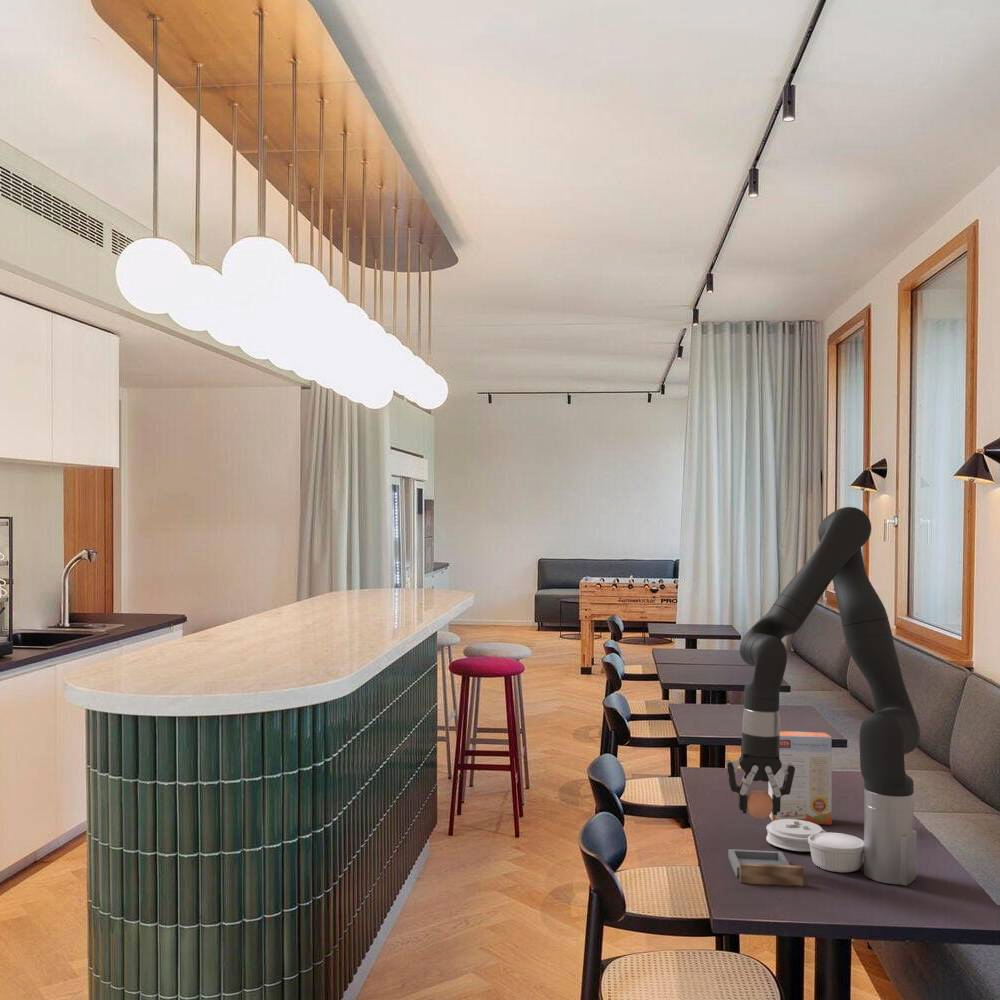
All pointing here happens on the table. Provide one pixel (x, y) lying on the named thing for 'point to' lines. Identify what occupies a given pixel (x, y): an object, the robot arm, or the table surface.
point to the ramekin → (836, 851)
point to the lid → (791, 833)
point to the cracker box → (806, 777)
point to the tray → (754, 858)
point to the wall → (771, 874)
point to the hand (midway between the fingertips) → (758, 812)
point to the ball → (759, 804)
